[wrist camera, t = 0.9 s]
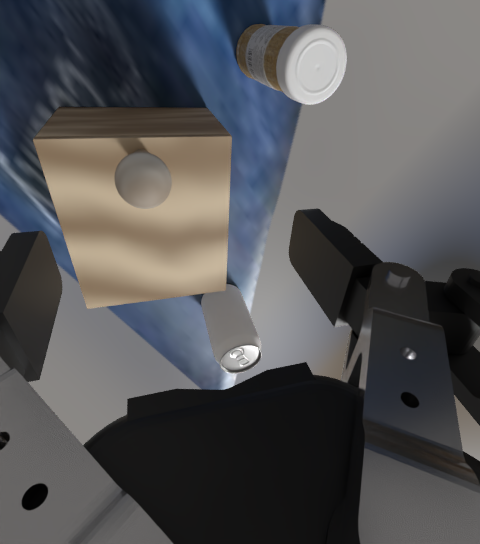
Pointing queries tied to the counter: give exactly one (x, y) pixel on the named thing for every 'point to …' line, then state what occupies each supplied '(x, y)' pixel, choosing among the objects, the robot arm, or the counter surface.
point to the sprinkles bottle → (294, 59)
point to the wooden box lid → (141, 213)
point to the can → (231, 330)
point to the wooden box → (130, 122)
